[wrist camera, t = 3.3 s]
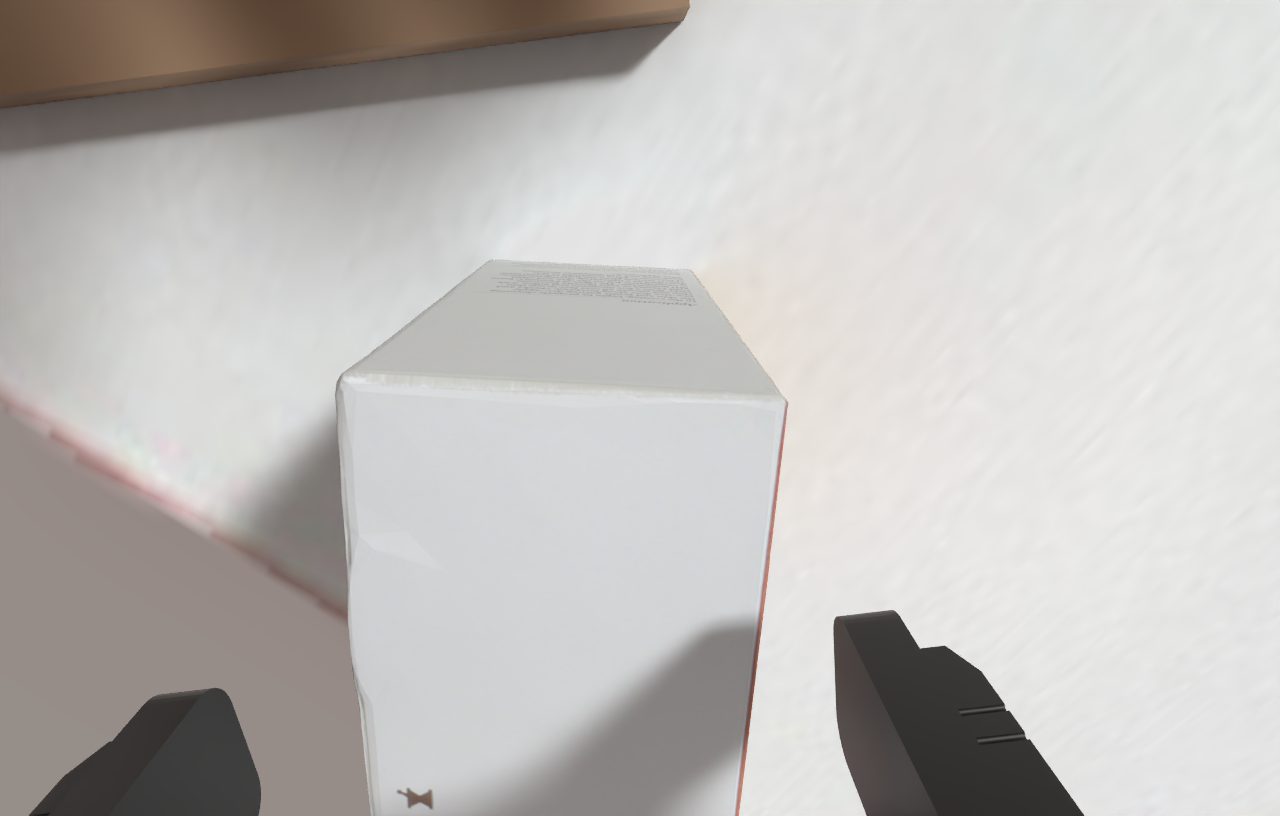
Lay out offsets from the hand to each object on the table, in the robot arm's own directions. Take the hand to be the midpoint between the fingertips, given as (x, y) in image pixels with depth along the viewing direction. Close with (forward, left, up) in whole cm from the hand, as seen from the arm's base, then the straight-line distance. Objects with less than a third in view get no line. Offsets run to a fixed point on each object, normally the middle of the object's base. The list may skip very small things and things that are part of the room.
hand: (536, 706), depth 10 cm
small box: (0, 0, -15) cm, 15 cm away
